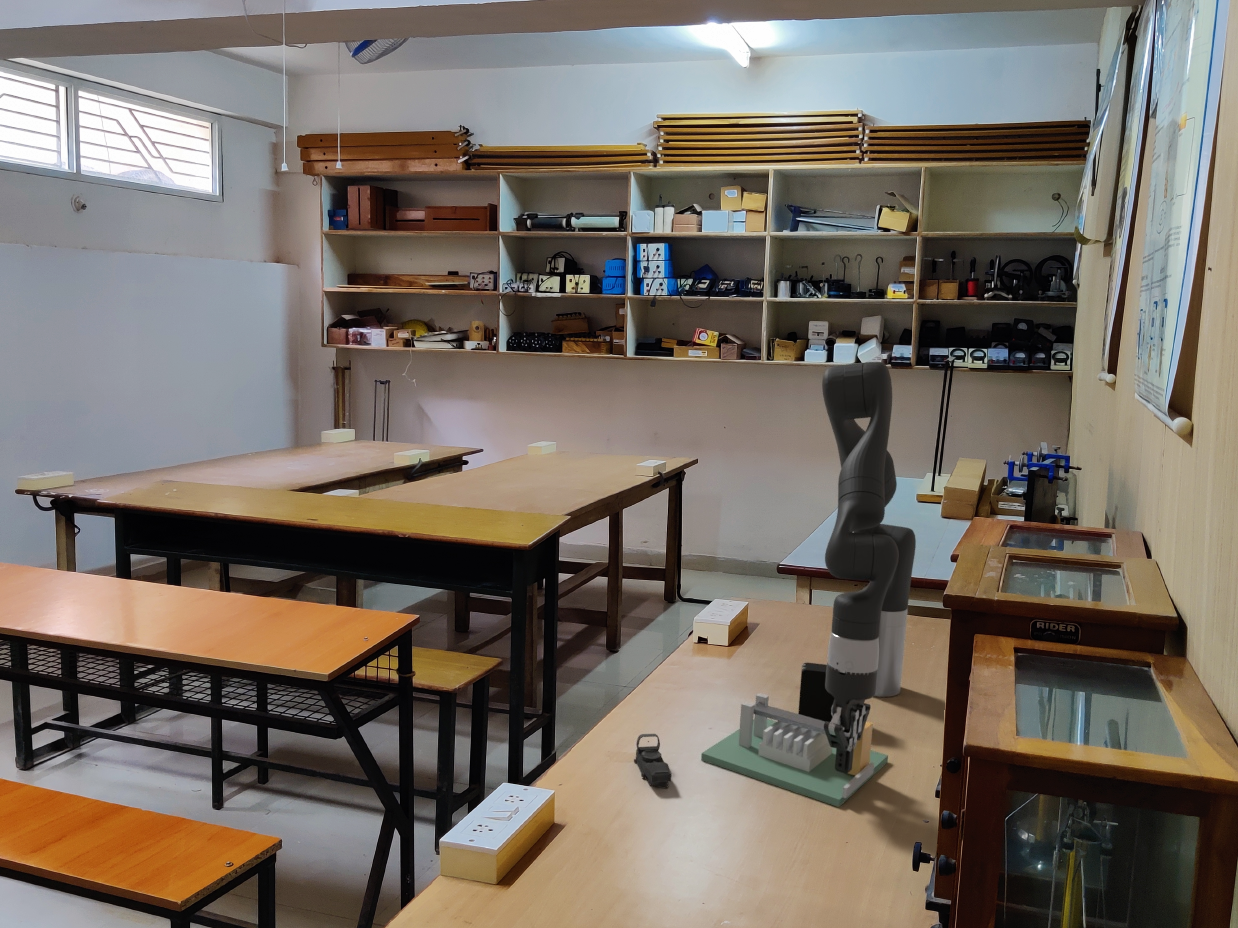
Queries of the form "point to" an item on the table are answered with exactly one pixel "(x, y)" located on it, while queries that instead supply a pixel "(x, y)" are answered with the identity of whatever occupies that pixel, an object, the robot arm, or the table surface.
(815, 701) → the electronic device
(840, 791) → the slotted rack on board
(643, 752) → the reflex sight
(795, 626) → the table surface
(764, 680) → the table surface
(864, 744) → the clip
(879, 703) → the table surface
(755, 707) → the strap
